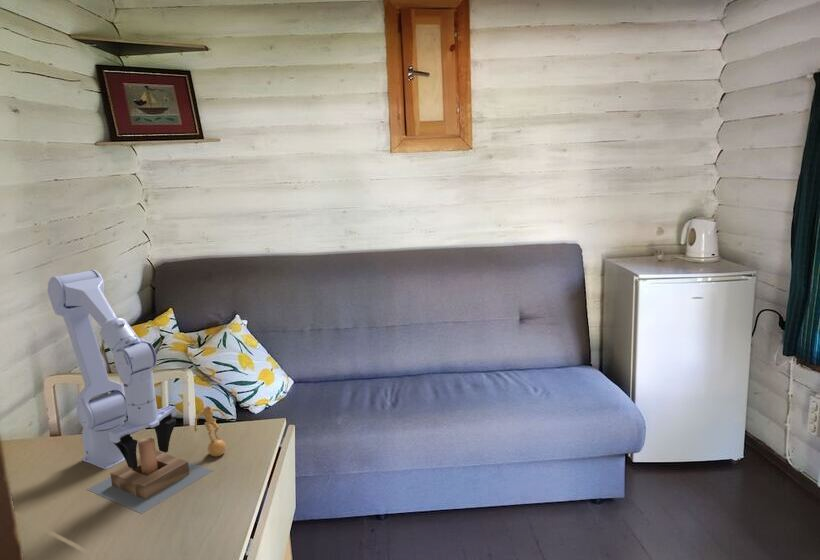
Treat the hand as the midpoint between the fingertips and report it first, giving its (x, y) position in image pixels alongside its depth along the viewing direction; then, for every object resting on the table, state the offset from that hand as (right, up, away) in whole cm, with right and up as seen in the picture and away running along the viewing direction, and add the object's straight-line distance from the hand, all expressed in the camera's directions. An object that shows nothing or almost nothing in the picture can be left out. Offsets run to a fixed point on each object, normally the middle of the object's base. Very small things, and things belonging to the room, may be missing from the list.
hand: (148, 459), depth 128 cm
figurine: (+10, -3, +12) cm, 16 cm away
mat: (0, -5, +1) cm, 5 cm away
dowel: (0, -5, +1) cm, 5 cm away
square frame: (0, -5, +1) cm, 5 cm away
